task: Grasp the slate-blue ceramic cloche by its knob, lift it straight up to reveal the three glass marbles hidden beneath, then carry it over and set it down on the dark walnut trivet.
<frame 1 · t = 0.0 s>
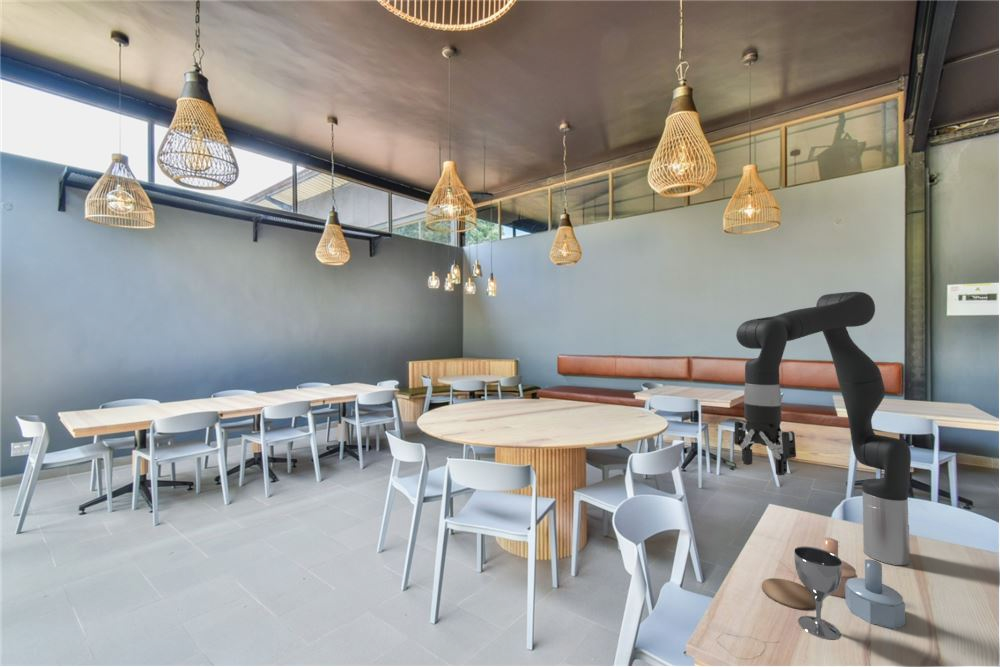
hand: (763, 469, 100), 29 cm above the table, fingers open, 8 cm apart
walnut trivet: (789, 594, 98), on the table
wine glass: (818, 628, 87), on the table
marble amber: (884, 618, 89), on the table
marble inkblue: (864, 612, 91), on the table
terracotta cloche: (831, 585, 101), on the table
slate cloche: (874, 613, 91), on the table
marble seagreen: (874, 608, 92), on the table
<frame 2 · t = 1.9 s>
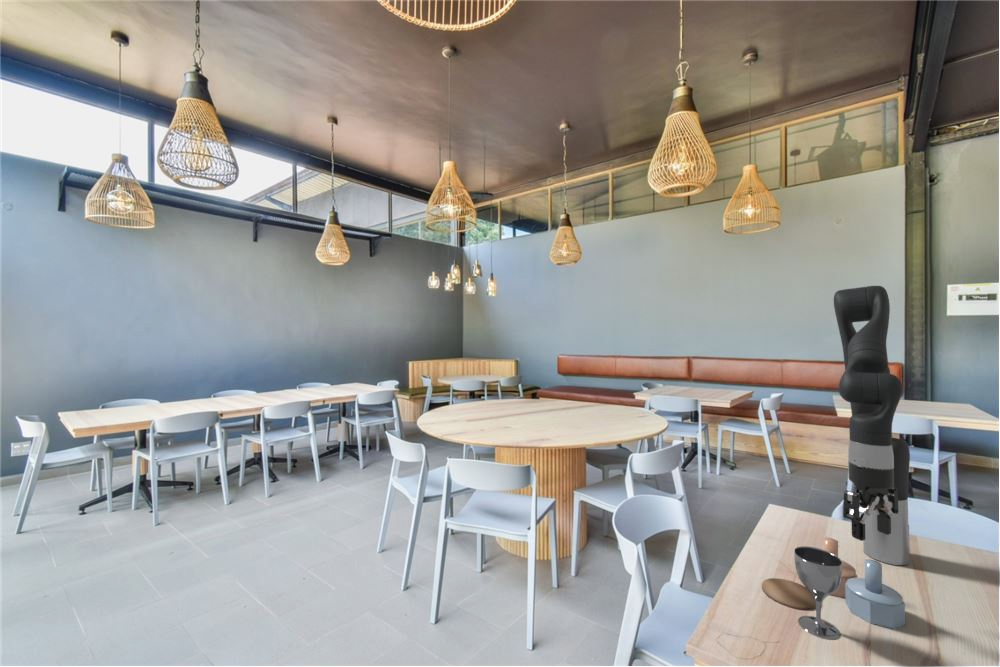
hand: (871, 535, 91), 17 cm above the table, fingers open, 8 cm apart
nothing on the table moved.
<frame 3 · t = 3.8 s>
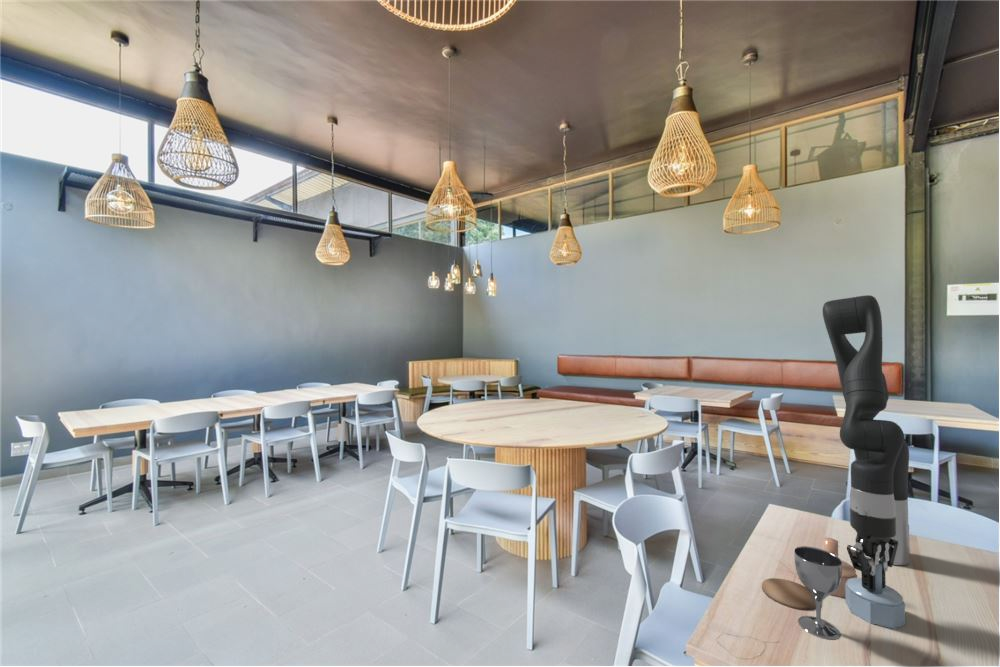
hand: (873, 587, 91), 6 cm above the table, fingers closed on slate cloche, 3 cm apart
slate cloche: (874, 613, 91), on the table, touching gripper
everything else where it was.
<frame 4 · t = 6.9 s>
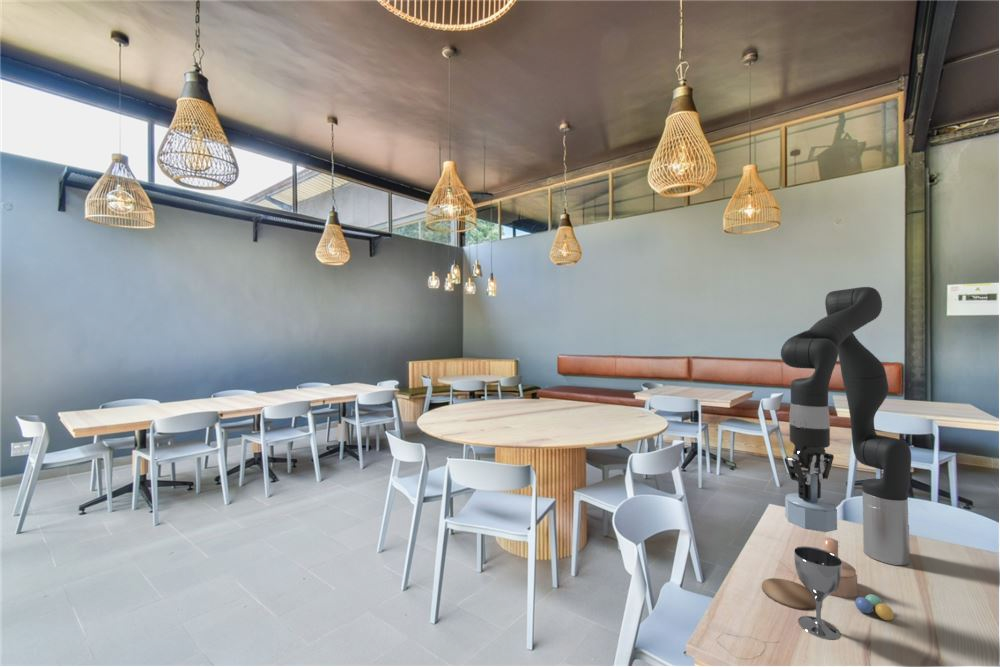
hand: (809, 498, 96), 24 cm above the table, fingers closed on slate cloche, 3 cm apart
slate cloche: (810, 522, 96), point 18 cm above the table, touching gripper
everything else where it was.
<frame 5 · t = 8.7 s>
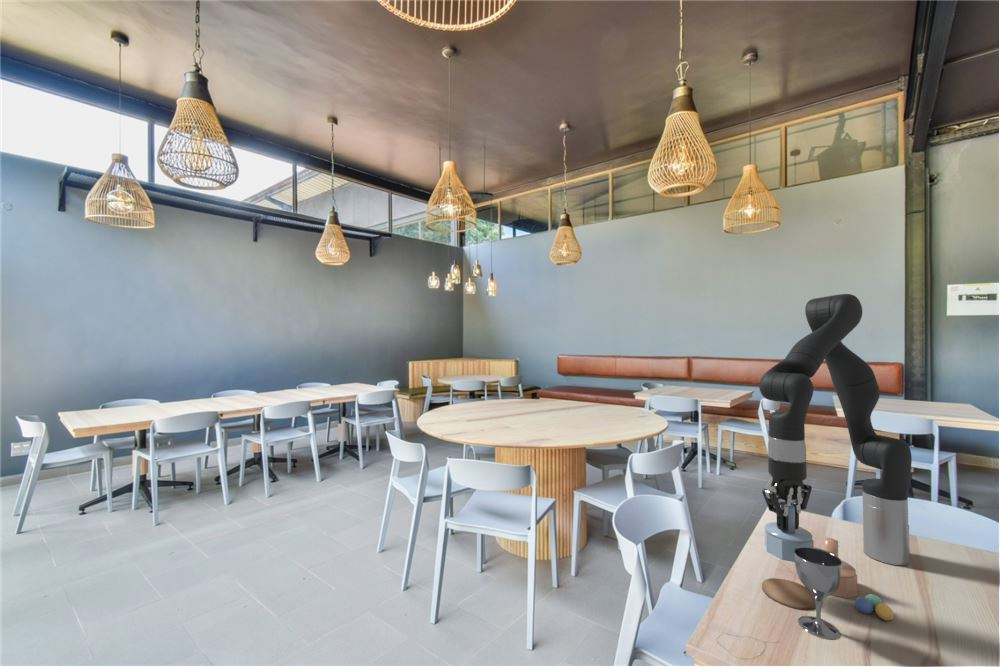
hand: (787, 528, 98), 16 cm above the table, fingers closed on slate cloche, 3 cm apart
slate cloche: (788, 552, 98), point 10 cm above the table, touching gripper
everything else where it was.
when the fingers open (8 cm above the table, at t = 10.3 s): slate cloche drops 2 cm, resting on walnut trivet.
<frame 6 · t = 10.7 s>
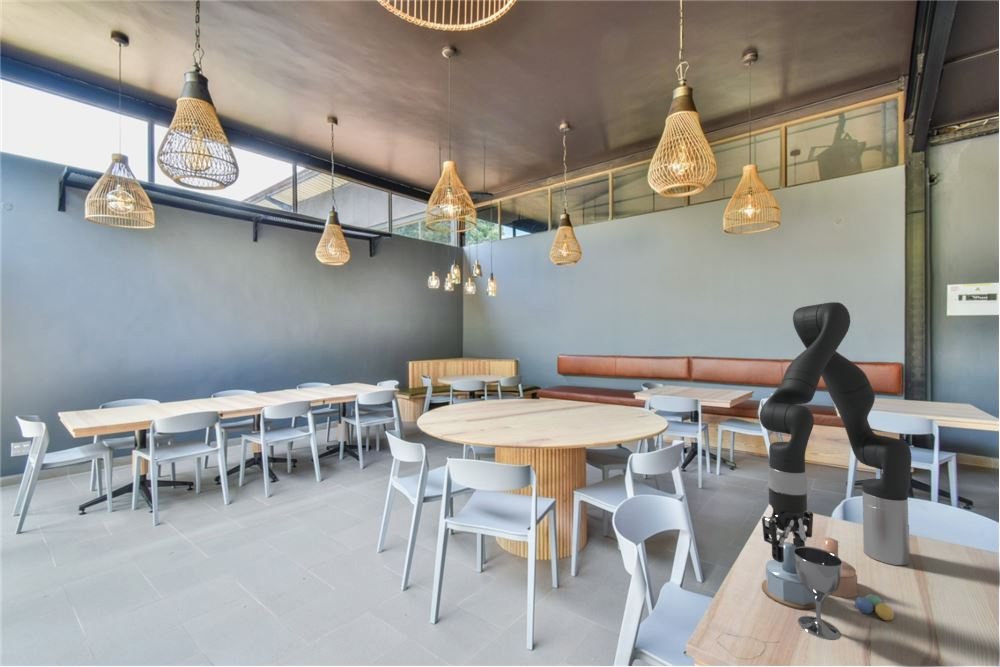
hand: (788, 557, 98), 9 cm above the table, fingers open, 6 cm apart
slate cloche: (789, 591, 98), point 1 cm above the table, touching walnut trivet
everything else where it was.
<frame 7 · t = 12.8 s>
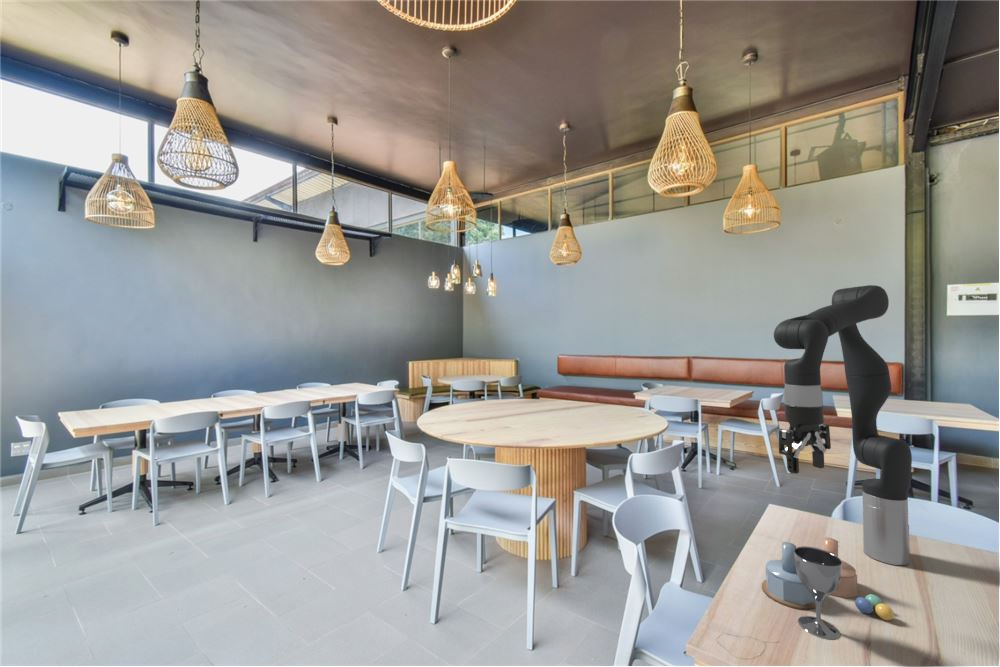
hand: (806, 470, 99), 29 cm above the table, fingers open, 8 cm apart
nothing on the table moved.
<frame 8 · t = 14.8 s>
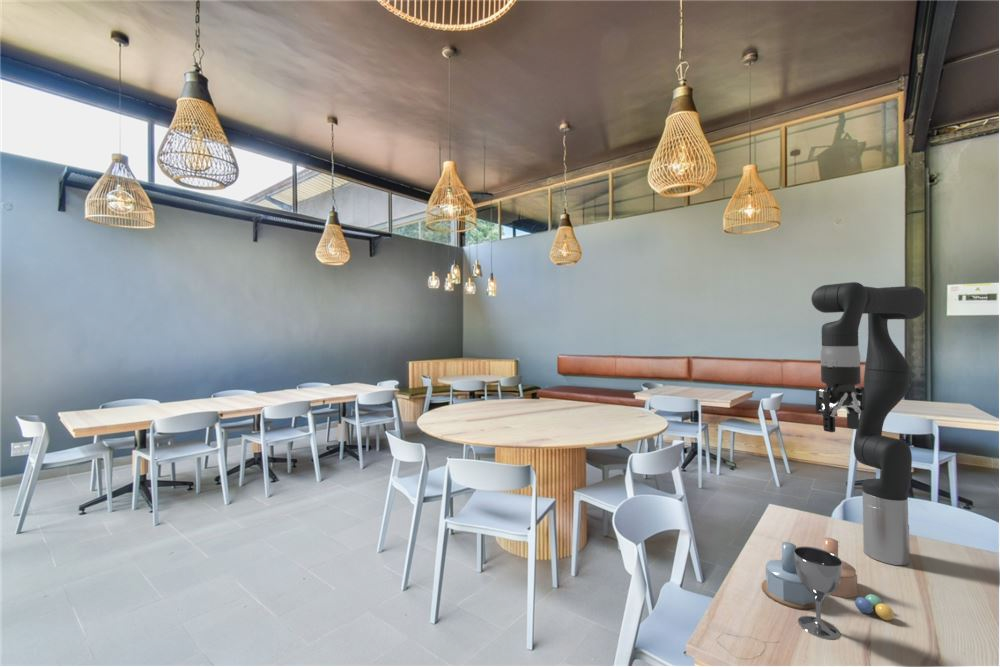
hand: (841, 430, 102), 38 cm above the table, fingers open, 8 cm apart
nothing on the table moved.
at the end: slate cloche inside the target area on the walnut trivet (0.1 cm from its centre), point 0.6 cm above the walnut trivet's base; slate cloche tilted 0°; slate cloche moved 15.5 cm from its start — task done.
